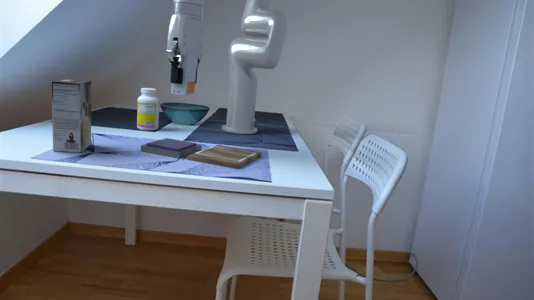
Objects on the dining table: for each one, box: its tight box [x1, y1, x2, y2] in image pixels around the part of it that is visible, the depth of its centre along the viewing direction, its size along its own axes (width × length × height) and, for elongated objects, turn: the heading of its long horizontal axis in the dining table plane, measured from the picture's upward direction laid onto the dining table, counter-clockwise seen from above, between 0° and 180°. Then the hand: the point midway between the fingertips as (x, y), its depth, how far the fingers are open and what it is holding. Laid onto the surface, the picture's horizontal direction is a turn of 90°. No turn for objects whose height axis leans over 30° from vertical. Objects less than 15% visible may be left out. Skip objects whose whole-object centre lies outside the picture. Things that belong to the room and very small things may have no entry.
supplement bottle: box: [136, 87, 160, 131], centre depth 129 cm, size 7×7×13 cm
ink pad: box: [140, 137, 203, 159], centre depth 105 cm, size 11×11×2 cm
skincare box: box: [170, 49, 197, 97], centre depth 107 cm, size 6×4×12 cm
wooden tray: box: [187, 144, 263, 170], centre depth 103 cm, size 16×13×1 cm
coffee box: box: [51, 78, 92, 153], centre depth 97 cm, size 9×6×16 cm
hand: (183, 82), depth 108 cm, fingers closed on skincare box, 6 cm apart
